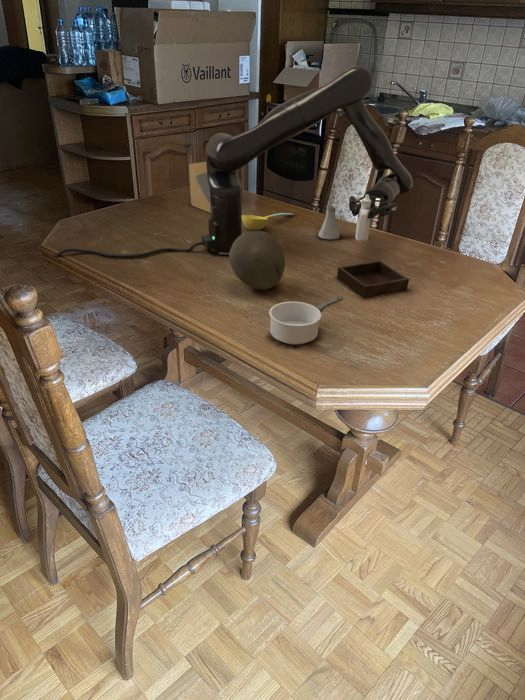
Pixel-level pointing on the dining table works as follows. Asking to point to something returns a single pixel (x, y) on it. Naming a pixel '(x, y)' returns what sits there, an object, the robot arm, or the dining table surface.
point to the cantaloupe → (257, 259)
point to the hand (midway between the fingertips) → (362, 213)
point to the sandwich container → (199, 186)
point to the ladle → (257, 221)
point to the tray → (372, 279)
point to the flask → (329, 225)
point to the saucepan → (297, 321)
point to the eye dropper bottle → (363, 220)
